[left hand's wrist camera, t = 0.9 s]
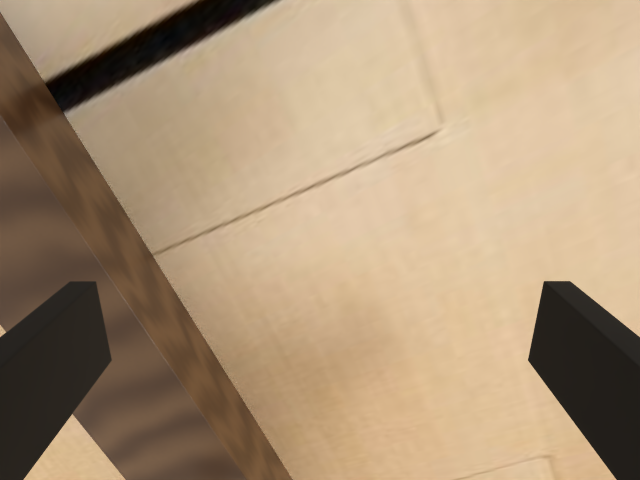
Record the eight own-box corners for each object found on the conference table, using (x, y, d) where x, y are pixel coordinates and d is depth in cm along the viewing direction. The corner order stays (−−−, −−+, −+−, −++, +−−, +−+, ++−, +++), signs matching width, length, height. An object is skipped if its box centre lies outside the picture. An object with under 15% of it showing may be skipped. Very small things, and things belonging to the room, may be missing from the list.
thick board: (-127, 42, 32) (-237, 33, 25) (-20, -20, 30) (-108, -46, 24) (251, 557, 51) (242, 624, 45) (326, 534, 50) (327, 600, 44)
